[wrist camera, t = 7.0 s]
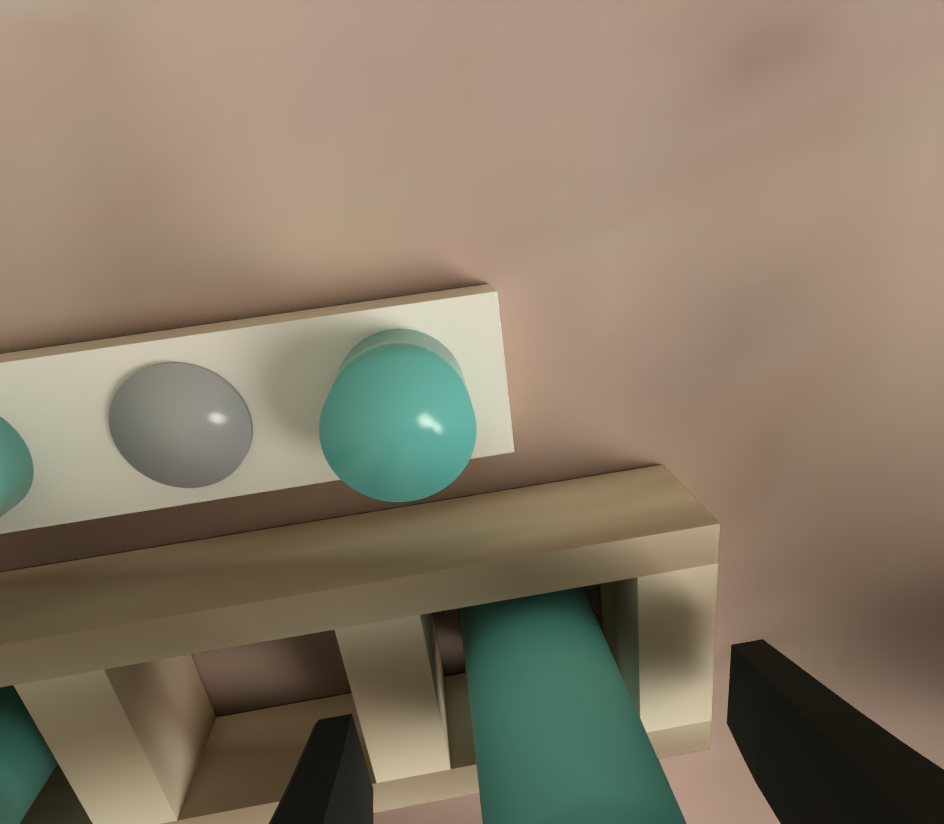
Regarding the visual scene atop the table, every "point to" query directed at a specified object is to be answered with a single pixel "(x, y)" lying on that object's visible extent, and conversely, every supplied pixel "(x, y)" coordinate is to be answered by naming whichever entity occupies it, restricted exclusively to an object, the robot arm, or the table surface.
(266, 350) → the pattern tile
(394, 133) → the table surface
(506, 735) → the pin
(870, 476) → the table surface
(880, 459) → the table surface
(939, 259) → the table surface
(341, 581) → the beige compartment tray
